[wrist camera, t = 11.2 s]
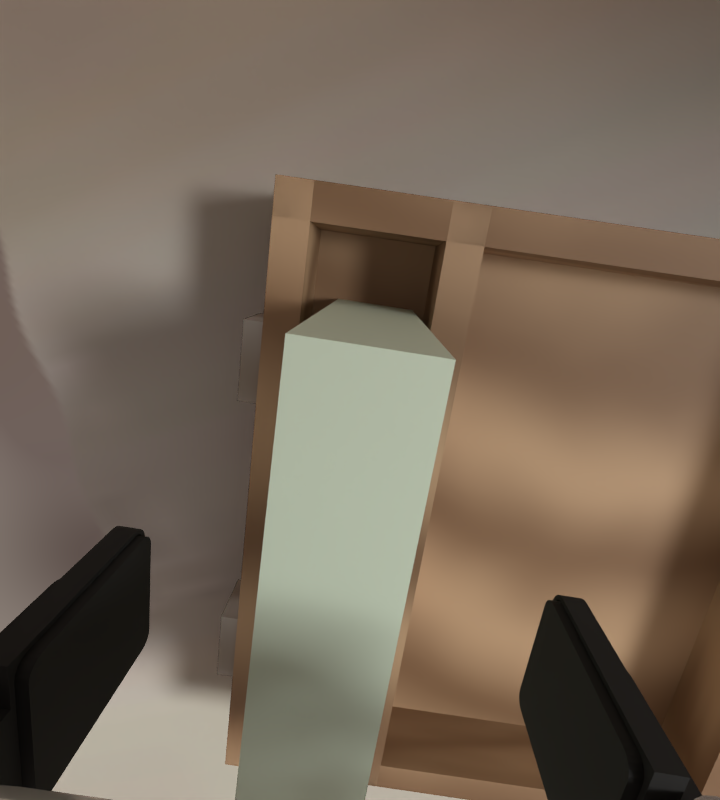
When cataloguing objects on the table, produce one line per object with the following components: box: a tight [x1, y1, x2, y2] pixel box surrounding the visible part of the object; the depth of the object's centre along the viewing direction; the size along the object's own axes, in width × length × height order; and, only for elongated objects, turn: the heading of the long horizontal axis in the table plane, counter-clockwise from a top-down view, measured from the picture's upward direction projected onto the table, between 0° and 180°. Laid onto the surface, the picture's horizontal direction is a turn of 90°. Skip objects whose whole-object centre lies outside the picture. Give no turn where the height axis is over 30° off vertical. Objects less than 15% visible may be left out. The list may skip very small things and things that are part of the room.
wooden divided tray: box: [217, 175, 720, 800], centre depth 16 cm, size 20×19×4 cm
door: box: [235, 299, 456, 800], centre depth 13 cm, size 14×2×9 cm, turn 171°
